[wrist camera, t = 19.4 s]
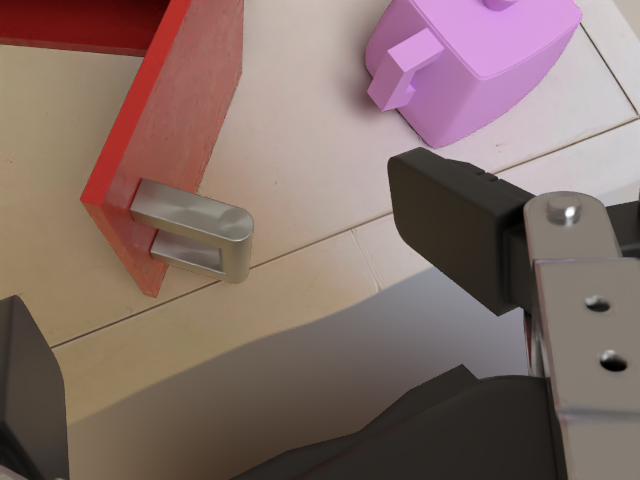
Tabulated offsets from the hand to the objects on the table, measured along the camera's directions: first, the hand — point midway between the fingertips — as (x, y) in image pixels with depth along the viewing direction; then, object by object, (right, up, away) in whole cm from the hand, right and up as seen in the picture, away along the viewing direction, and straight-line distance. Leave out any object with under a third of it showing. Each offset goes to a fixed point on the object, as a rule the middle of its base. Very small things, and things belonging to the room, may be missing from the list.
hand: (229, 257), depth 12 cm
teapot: (+12, +13, +33) cm, 38 cm away
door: (-4, +4, +27) cm, 28 cm away
